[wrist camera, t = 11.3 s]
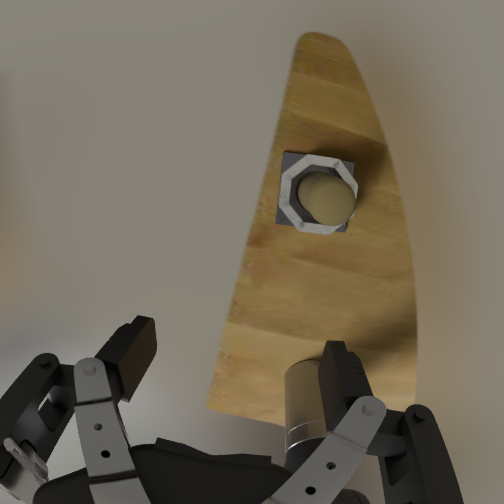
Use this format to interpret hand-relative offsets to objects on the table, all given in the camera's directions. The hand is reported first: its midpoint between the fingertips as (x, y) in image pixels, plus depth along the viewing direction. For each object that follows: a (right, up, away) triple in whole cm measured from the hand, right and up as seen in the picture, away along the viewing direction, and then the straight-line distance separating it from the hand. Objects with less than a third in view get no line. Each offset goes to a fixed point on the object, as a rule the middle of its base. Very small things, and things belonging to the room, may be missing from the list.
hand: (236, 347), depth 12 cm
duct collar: (+9, +13, +25) cm, 29 cm away
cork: (+10, +12, +24) cm, 29 cm away
